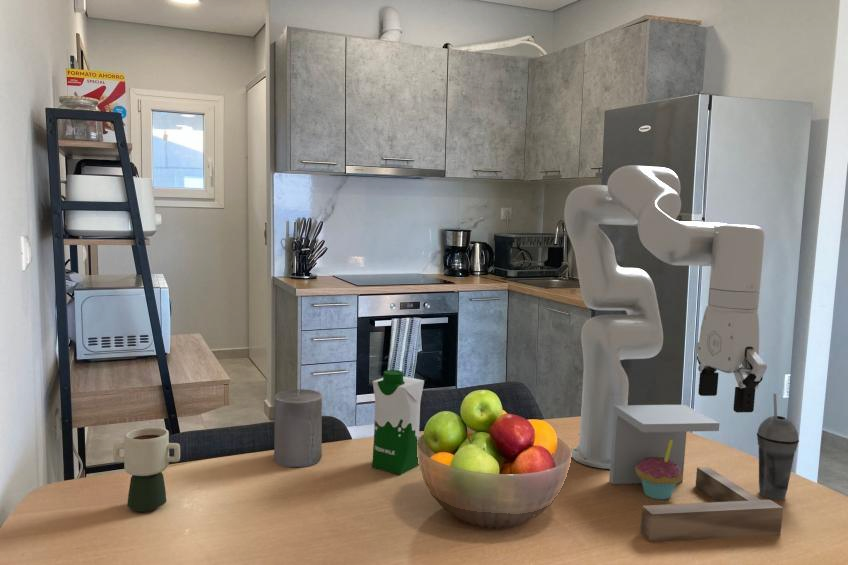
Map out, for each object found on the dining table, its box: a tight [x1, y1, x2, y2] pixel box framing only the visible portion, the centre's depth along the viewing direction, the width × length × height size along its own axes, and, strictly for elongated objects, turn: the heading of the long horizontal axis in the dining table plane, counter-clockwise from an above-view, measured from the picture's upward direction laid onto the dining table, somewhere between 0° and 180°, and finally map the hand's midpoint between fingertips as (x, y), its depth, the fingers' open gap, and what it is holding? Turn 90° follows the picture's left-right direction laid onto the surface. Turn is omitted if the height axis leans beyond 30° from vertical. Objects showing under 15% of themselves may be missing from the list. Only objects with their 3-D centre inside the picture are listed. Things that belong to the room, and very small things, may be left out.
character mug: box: [112, 426, 181, 512], centre depth 117 cm, size 11×7×13 cm, turn 97°
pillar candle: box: [273, 388, 323, 468], centre depth 142 cm, size 10×10×15 cm
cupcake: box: [635, 436, 684, 500], centre depth 131 cm, size 9×8×12 cm
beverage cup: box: [756, 393, 800, 501], centre depth 132 cm, size 7×7×20 cm
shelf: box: [608, 404, 720, 485], centre depth 132 cm, size 12×15×16 cm
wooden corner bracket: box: [639, 466, 784, 544], centre depth 124 cm, size 21×24×5 cm
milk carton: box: [371, 369, 425, 476], centre depth 140 cm, size 9×9×20 cm
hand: (724, 403), depth 114 cm, fingers open, 9 cm apart
